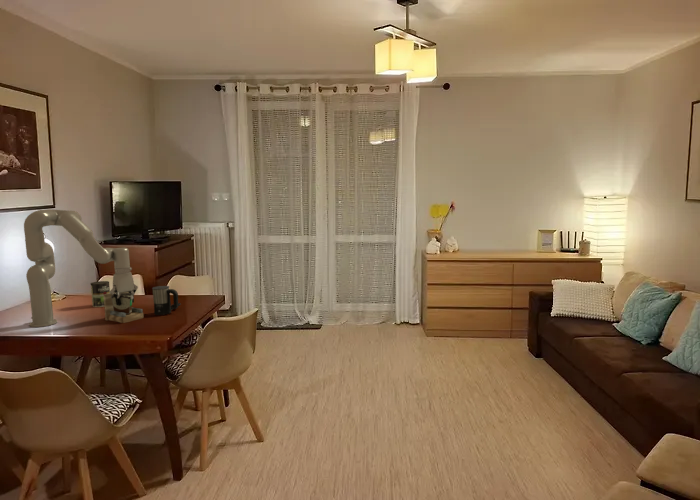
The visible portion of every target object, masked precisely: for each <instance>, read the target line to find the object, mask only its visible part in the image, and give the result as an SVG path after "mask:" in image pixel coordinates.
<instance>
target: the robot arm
mask: <svg viewBox="0 0 700 500" xmlns="http://www.w3.org/2000/svg"><path fill="white" fill-rule="evenodd" d="M82 220H83V219H82V216H81V214H80V213H79V212H77V211H75V210H63V209H39V210H35V211H34V212H31V213H30V214H29V215H27V217H25V219H24V222H23V233H24V242H25V249H26V250H25V252H26V256H27V258H28V260H29V261H30V262H33V263H34V264H33V265H31V266H30V267H29V268H28V269H27V271H26V281H27V285H28V290H29V297H30V298H29V299H30V308H31V310H30V311H31V318H30V319H31V322H30V323H29V324H28V326H29V327H31V328H42V327H47V326H48V327H49V326H52V325H56V324H57V323H58V320H57V319H54V310H53V309H54V308H53V298H52V297H53V296H52V290H51V289H52V288H51V285H50V282H49V280H51V279H52V278H53V277H54V276H55V274H56V260H55V253H54V249H53V247H52V245H50V243H48V242H46V241H45V234H44V230H43V228H44V227H48V226H49V227H50V226H55V227H56V226H58V227H59V226H60V227H63V229H65V230H66V231H67V232H68V233H69V234H70V235H71V236H73V237H74V238H75V240H76V241H78V243H79V244H80V246H81V247H82V248H83V249H84V251H85V253H87V254H88V255H89V256H90V258H92V259H93V260H94V261H95V262H97V263H98V264H102V265H104V264H108V263H110V262H113V264H114V265H113V266H114V274H113V275H112V289H110V293H111V294H112V296H114V298H116V305H119V306H120V305H121V299H120V298H119V297H120V294H121V293H123V292H129V293H130V294H132V295H133V299H132V304H133V303H135V297H134V296H135V295H136V293H137V290H138V288H139V286H138V285H136V284H135V281H134V277H133V274H132V273H133V272H131V271H132V270H133V267H131V264H130V263H131V261H130V250H129V248H127V247H103V246H102V245H101V244H100V243H99V242H98V241H97V240H96V239H95V236H94V232H93V230H92V229H91V228H90V227H89V226H88V225H87V224H86V223H85V222H84V221H82ZM114 292H116V293H114Z"/></svg>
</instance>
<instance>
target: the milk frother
mask: <svg viewBox="0 0 700 500" xmlns="http://www.w3.org/2000/svg"><path fill="white" fill-rule="evenodd" d="M151 289H152V297H153V298H152V299H153V311H154V312H153V315H155V316H156V315H157V316H160V315H162V316H163V315H168V314H171V313H172V310H174V309H175V310H176V309H178V308H179V307H180V306H181V305H182V304H181V303H180V302H179V294H178V291H177V290H176V289H173V288H170V286H169V285H157V286H153V287H152V288H151ZM171 294H172V297H173V299H172V300H173V303H171Z"/></svg>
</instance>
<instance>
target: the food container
mask: <svg viewBox="0 0 700 500" xmlns="http://www.w3.org/2000/svg"><path fill="white" fill-rule="evenodd" d="M119 298H120V299H121V305H120V306H119V305H116V298H114V296H112V295H111V299H112V303H113V310H114V311H117V312H123V313H126V314H131V313H132V307H133V303H132V299H133V295H132V294H130V293H121V294H120V297H119Z"/></svg>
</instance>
